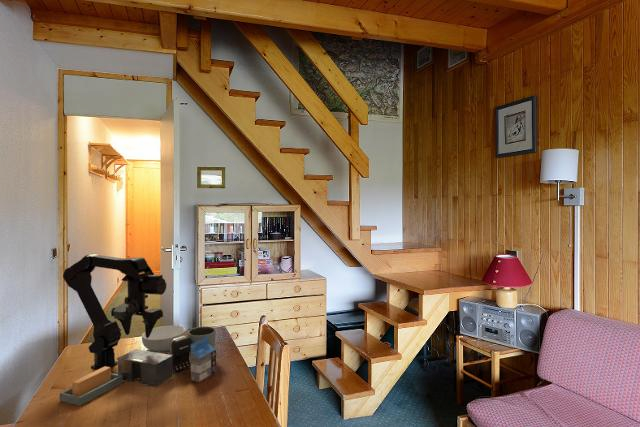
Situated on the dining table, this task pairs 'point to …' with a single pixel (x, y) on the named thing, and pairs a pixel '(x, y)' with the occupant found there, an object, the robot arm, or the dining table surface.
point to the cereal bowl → (162, 337)
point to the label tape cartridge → (202, 360)
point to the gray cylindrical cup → (202, 335)
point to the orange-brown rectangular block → (91, 381)
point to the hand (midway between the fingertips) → (137, 336)
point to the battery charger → (180, 353)
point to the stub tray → (70, 398)
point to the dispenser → (145, 367)
